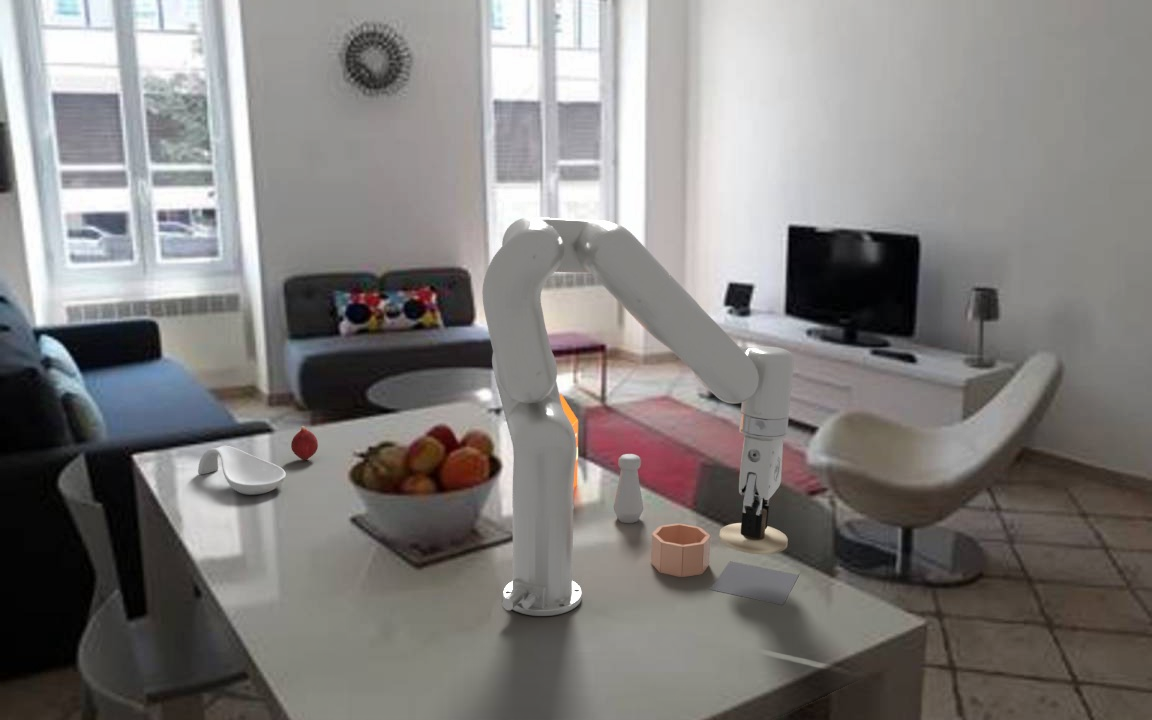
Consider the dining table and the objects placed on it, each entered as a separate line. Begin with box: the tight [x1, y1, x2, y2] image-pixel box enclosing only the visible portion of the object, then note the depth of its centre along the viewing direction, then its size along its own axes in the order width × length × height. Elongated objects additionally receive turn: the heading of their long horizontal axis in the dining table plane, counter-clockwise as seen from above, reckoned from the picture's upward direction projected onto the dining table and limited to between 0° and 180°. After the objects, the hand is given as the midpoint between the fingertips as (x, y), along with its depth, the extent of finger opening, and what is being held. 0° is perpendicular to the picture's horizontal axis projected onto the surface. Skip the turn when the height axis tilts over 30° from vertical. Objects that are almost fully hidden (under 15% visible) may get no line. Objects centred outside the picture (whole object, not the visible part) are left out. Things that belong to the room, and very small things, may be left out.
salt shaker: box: [613, 453, 645, 524], centre depth 182 cm, size 6×6×13 cm
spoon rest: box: [197, 445, 287, 496], centre depth 199 cm, size 24×12×7 cm, turn 55°
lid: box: [718, 508, 789, 555], centre depth 154 cm, size 11×11×5 cm
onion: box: [290, 425, 319, 461], centre depth 214 cm, size 6×6×8 cm
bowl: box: [650, 522, 711, 578], centre depth 162 cm, size 9×9×6 cm
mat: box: [709, 560, 800, 606], centre depth 156 cm, size 12×12×1 cm
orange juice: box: [559, 393, 579, 489], centre depth 197 cm, size 8×9×20 cm
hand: (753, 530), depth 154 cm, fingers closed on lid, 3 cm apart
